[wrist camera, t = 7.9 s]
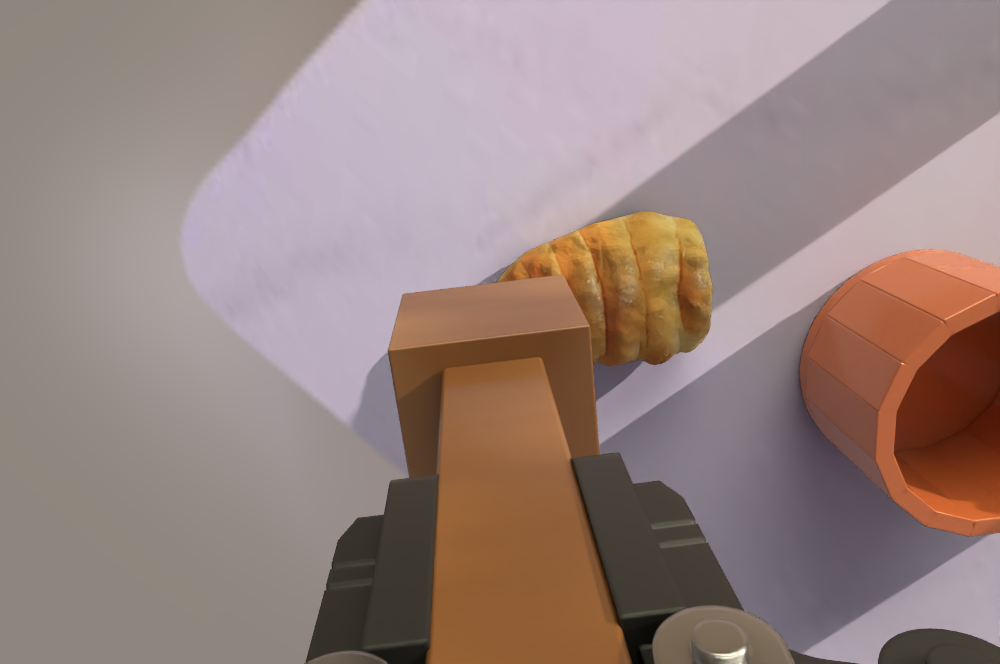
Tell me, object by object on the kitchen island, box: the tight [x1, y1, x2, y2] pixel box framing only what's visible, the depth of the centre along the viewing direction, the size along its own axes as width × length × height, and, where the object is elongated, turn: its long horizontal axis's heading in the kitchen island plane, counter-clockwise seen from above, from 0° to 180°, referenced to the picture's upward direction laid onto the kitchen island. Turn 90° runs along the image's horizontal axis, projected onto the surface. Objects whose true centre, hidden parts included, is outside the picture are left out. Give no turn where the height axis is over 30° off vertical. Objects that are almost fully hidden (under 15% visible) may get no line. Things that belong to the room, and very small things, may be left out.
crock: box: [800, 249, 1000, 536], centre depth 33 cm, size 11×11×7 cm
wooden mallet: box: [388, 275, 632, 664], centre depth 13 cm, size 4×3×13 cm
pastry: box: [497, 211, 713, 366], centre depth 32 cm, size 9×7×4 cm
